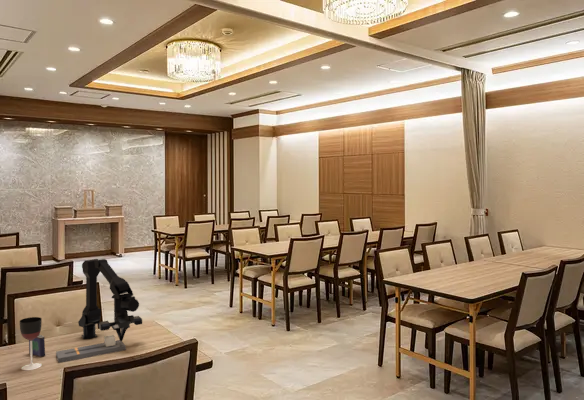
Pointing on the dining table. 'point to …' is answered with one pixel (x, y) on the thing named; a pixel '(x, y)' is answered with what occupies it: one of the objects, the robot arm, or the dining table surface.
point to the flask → (38, 346)
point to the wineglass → (31, 336)
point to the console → (88, 351)
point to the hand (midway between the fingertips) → (121, 341)
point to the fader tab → (109, 340)
